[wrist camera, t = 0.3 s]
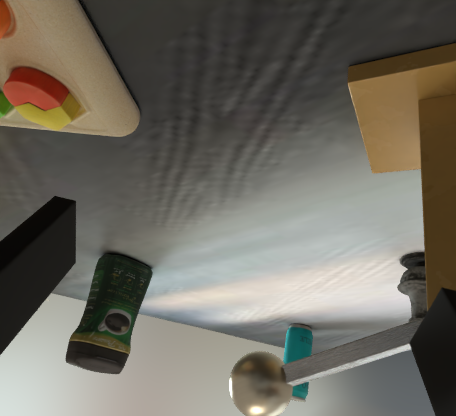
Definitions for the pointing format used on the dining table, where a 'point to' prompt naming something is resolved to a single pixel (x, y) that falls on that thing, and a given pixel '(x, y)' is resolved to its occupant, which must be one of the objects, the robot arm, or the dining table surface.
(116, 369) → the coffee jar
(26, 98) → the puzzle board
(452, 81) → the wooden lever stand
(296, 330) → the beverage can
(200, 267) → the dining table surface
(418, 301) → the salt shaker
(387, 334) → the tap lever
